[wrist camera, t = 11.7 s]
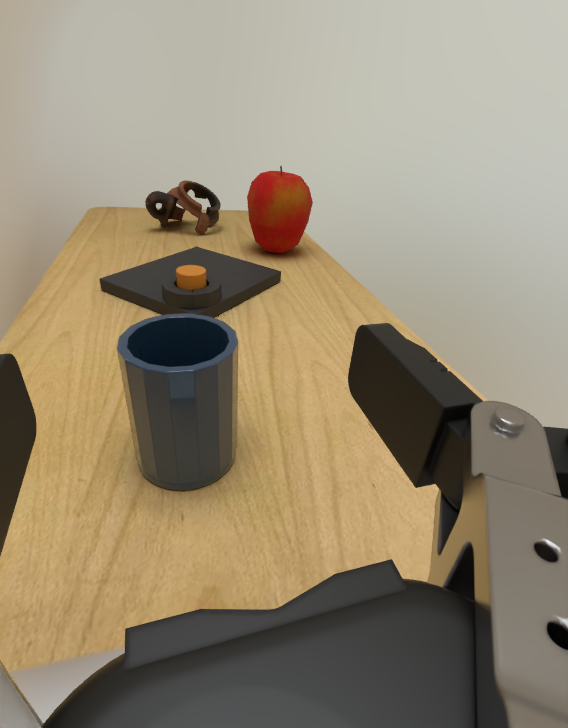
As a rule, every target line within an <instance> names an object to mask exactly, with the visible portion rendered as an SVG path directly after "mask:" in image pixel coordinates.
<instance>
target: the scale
mask: <svg viewBox="0 0 568 728" xmlns="http://www.w3.org/2000/svg"><path fill="white" fill-rule="evenodd" d="M185 265H197V266H201V267H203V268H205V269H206V283H207V286H206V287H205V288H202V289H196V290H186V289H181V288H178V287H177V278H176V269H177V268H178V267H181V266H185ZM280 279H281V271H278V270H275V269H271V268H268V267H264V266H261V265H257V264H254V263H251V262H247V261H244V260H240V259H237V258H233V257H230V256H226V255H223V254H220V253H216V252H213V251H209V250H206V249H202V248H199V247H195V248H192V249H189V250H186V251H183V252H179V253H176V254H173V255H170V256H167V257H164V258H161V259H158V260H155V261H152V262H149V263H146V264H143V265H140V266H137V267H134V268H131V269H128V270H125V271H122V272H119V273H116V274H113V275H109V276H106V277H103V278H100V284H101V290H103V291H105V292H108V293H110V294H113V295H115V296H118V297H120V298H123V299H125V300H128V301H130V302H133V303H135V304H138V305H140V306H143V307H145V308H148V309H150V310H153V311H156V312H158V313H161V314H163V315H166V314H167V315H168V314H185V313H188V314H189V313H190V314H197V315H204V316H209V317H212V318H214V317H215V316H217V315H219V314H221V313H223V312H225V311H227V310H228V309H230V308H232V307H234V306H236V305H238V304H240V303H241V302H243V301H245V300H247V299H249V298H251V297H252V296H254V295H256V294H258V293H260V292H262V291H264V290H265V289H267V288H269V287H271V286H273V285H275V284H277V283H278V282H280Z"/></svg>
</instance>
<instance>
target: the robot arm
mask: <svg viewBox="0 0 568 728" xmlns="http://www.w3.org/2000/svg"><path fill="white" fill-rule="evenodd" d="M348 383H349V389H350V392H351V395H352V397H353V398H354V400H355V401H356V403H357V404H358V405H359V407H360V408H361V410H362V411H363V413H364V414H365V415H366V417H367V418H368V420H369V421H370V423H371V424H372V426H373V427H374V428H375V430H376V431H377V433H378V434H379V436H380V437H381V439H382V440H383V441H384V443H385V444H386V446H387V447H388V449H389V450H390V452H391V453H392V454H393V456H394V457H395V459H396V460H397V462H398V463H399V465H400V466H401V467H402V469H403V470H404V472H405V473H406V475H407V476H408V477H409V479H410V480H411V482H412V483H413V485H414V486H415V488H418V487H422V486H427V485H432V484H436V485H437V486H438V488H439V489H440V490H439V492H438V495H437V497H436V503H435V516H434V529H433V542H432V555H431V566H430V572H429V577H428V581H427V582H423V581H417V580H410V579H402V577H401V575H400V574H399V572H398V570H397V568H396V566H395V564H394V562H393V560H392V559H391V560H387V561H383V562H380V563H376V564H372V565H368V566H364V567H360V568H357V569H353V570H349V571H345V572H341V573H337V574H334V575H333V576H331V577H329V578H328V579H326V580H324V581H323V582H321V583H319V584H318V585H316V586H314V587H313V588H311V589H309V590H308V591H306V592H304V593H303V594H301V595H299V596H298V597H296V598H294V599H293V600H291V601H289V602H288V603H286V604H284V605H283V606H281V607H279V608H276V609H271V610H235V609H199V610H195V611H192V612H188V613H184V614H180V615H176V616H172V617H169V618H165V619H161V620H157V621H153V622H149V623H146V624H142V625H138V626H134V627H130V628H126V629H125V653H124V654H122V655H120V656H119V657H117V658H115V659H113V660H112V661H110V662H109V663H107V664H106V665H105V666H104V667H102V668H101V669H99V670H98V671H96V672H95V673H94V674H92V675H91V676H90V677H89V678H88V679H86V680H85V681H84V682H83V683H82V684H81V685H79V686H78V687H77V688H76V689H75V690H74V691H73V692H72V693H71V694H70V695H69V696H68V697H67V698H66V699H65V700H64V701H63V702H62V703H61V704H60V705H59V706H58V707H57V708H56V709H55V710H54V712H53V713H52V714H51V716H50V717H49V718H48V719H47V720H46V722H45V723H44V724H43V723H42V721H41V720H40V718H39V717H38V715H37V714H36V712H35V711H34V709H33V708H32V706H31V705H30V703H29V702H28V701H27V699H26V698H25V696H24V695H23V693H22V692H21V690H20V689H19V688H18V686H17V685H16V683H15V682H14V680H13V679H12V677H11V676H10V674H9V673H8V671H7V670H6V668H5V667H4V665H3V664H2V662H1V661H0V728H568V429H563V428H553V427H543V426H542V425H541V424H540V422H539V421H538V420H537V419H535V418H534V417H533V416H532V415H530V414H529V413H527V412H526V411H524V410H522V409H520V408H518V407H516V406H513V405H510V404H507V403H503V402H497V401H484V402H483V401H482V400H481V399H480V398H479V397H478V396H477V395H476V394H475V393H473V392H472V391H471V390H470V389H469V388H468V387H467V386H466V385H465V384H464V383H462V382H461V381H460V380H459V379H458V378H457V377H456V376H455V375H454V374H453V373H451V372H450V371H447V368H446V367H445V366H444V365H443V364H442V363H440V362H437V359H436V358H435V357H434V356H433V355H432V354H430V353H429V352H428V351H427V350H426V349H425V348H423V347H421V346H419V345H417V344H415V343H414V342H412V341H410V340H408V339H406V338H405V337H404V336H403V335H401V334H400V333H399V332H398V331H397V330H396V329H395V328H394V327H393V326H392V325H391V324H389V323H382V324H370V325H361V326H360V327H359V328H358V329H357V332H356V335H355V341H354V346H353V352H352V357H351V363H350V368H349V374H348ZM35 437H36V418H35V413H34V409H33V406H32V403H31V400H30V397H29V395H28V392H27V389H26V386H25V383H24V380H23V377H22V374H21V371H20V368H19V365H18V363H17V361H16V359H15V357H14V356H13V355H12V354H0V555H1V552H2V549H3V545H4V542H5V539H6V535H7V532H8V529H9V525H10V522H11V518H12V515H13V512H14V508H15V505H16V502H17V498H18V495H19V492H20V488H21V485H22V482H23V478H24V475H25V471H26V468H27V465H28V461H29V458H30V455H31V451H32V448H33V445H34V441H35Z"/></svg>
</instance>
